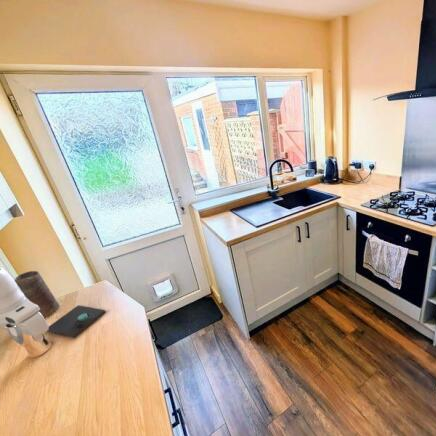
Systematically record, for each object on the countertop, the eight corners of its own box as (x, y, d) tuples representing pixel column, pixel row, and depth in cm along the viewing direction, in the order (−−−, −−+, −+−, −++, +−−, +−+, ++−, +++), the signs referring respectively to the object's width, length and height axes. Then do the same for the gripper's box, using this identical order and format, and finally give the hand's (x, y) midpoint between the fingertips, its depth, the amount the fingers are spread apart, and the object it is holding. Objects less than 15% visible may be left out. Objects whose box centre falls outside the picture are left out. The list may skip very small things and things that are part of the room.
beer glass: (33, 345, 92) (11, 316, 86) (56, 339, 94) (36, 309, 88) (23, 361, 86) (-2, 331, 80) (47, 354, 88) (25, 324, 82)
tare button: (77, 321, 98) (75, 318, 98) (84, 315, 101) (83, 312, 100) (82, 322, 97) (80, 319, 97) (90, 316, 100) (88, 313, 99)
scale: (46, 331, 99) (42, 326, 97) (79, 307, 110) (76, 302, 108) (75, 338, 94) (71, 332, 93) (106, 312, 105) (103, 307, 104)
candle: (54, 304, 114) (31, 268, 105) (64, 306, 111) (41, 270, 103) (35, 316, 107) (8, 280, 99) (45, 319, 105) (19, 282, 97)
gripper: (-21, 311, 82) (3, 340, 88) (18, 321, 76) (41, 351, 82) (3, 298, 88) (24, 326, 93) (41, 306, 82) (61, 335, 87)
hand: (32, 338), depth 88 cm, fingers closed on beer glass, 6 cm apart
